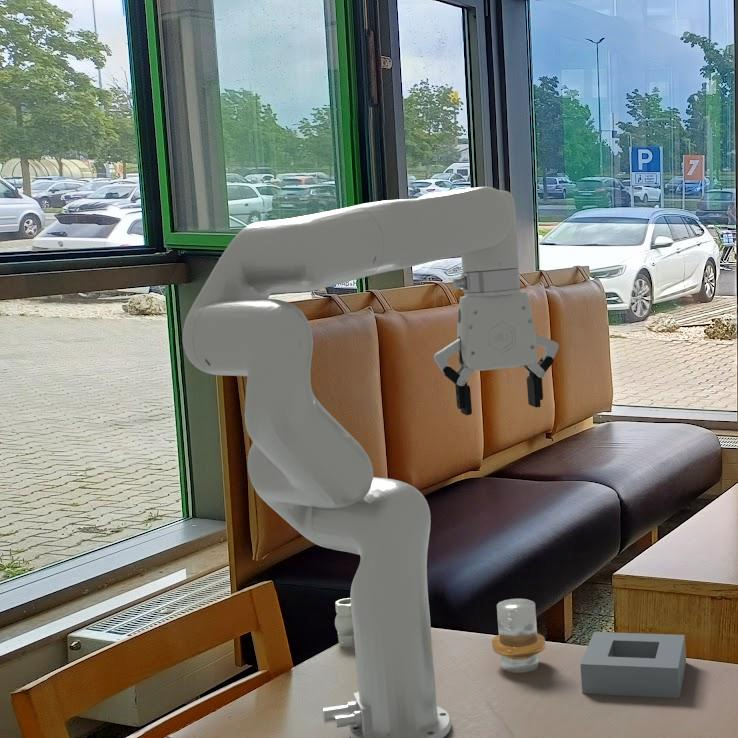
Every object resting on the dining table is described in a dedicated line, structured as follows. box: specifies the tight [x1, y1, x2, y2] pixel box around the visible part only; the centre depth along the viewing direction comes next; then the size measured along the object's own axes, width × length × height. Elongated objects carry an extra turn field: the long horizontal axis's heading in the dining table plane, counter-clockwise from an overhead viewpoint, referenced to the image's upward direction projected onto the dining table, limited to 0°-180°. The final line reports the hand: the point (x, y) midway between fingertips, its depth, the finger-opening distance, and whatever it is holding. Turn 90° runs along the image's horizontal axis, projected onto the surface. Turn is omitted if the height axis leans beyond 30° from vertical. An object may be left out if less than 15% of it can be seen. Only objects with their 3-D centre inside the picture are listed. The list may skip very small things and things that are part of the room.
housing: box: [580, 631, 687, 699], centre depth 149 cm, size 12×12×5 cm
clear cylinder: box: [491, 598, 546, 674], centre depth 156 cm, size 7×7×10 cm
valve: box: [334, 597, 355, 648], centre depth 173 cm, size 7×7×12 cm
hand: (500, 410), depth 155 cm, fingers open, 9 cm apart
